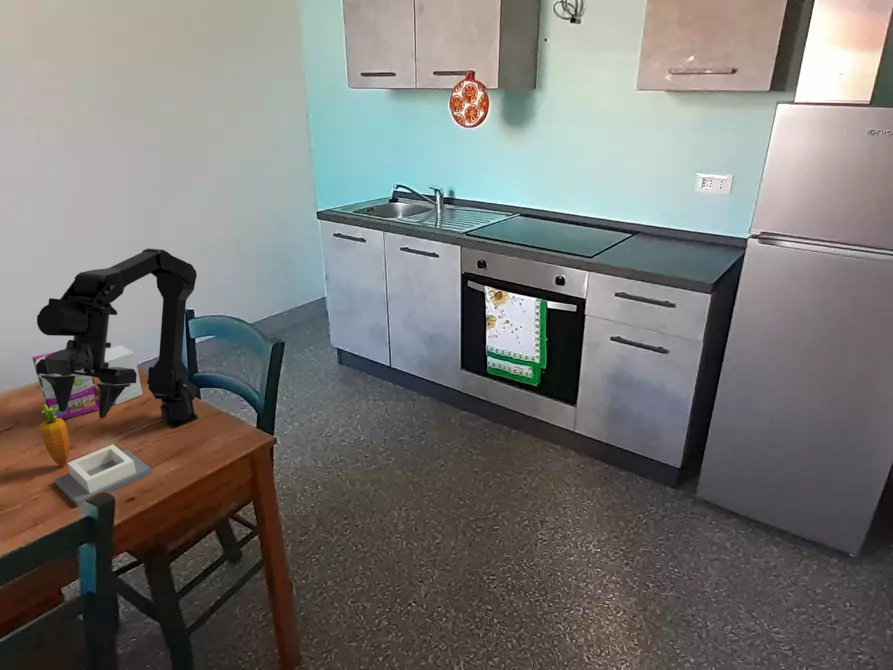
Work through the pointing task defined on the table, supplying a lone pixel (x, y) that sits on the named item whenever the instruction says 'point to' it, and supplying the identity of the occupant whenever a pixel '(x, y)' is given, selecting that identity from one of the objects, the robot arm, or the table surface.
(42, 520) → the table surface
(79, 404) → the candy bar box
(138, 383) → the supplement box
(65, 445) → the carrot
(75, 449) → the table surface
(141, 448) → the table surface
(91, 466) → the socket
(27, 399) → the table surface
